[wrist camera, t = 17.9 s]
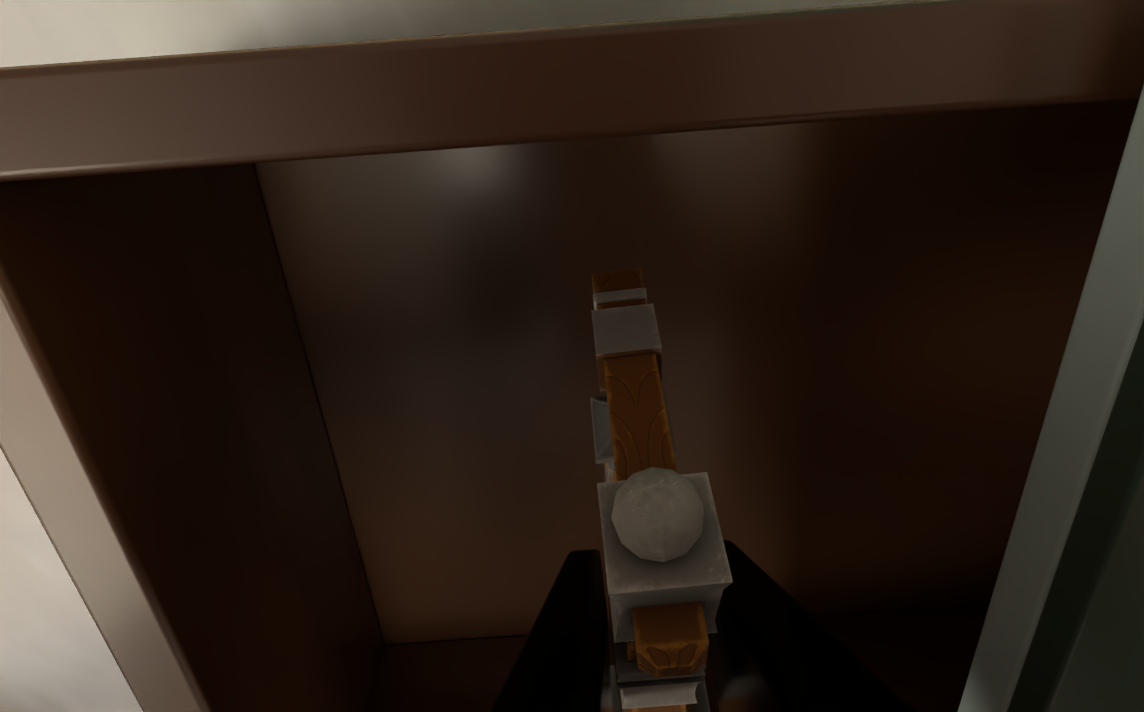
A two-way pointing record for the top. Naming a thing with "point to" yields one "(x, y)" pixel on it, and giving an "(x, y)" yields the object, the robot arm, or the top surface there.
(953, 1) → the wooden box
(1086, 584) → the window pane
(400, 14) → the top surface
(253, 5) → the top surface
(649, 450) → the wooden post with brackets
